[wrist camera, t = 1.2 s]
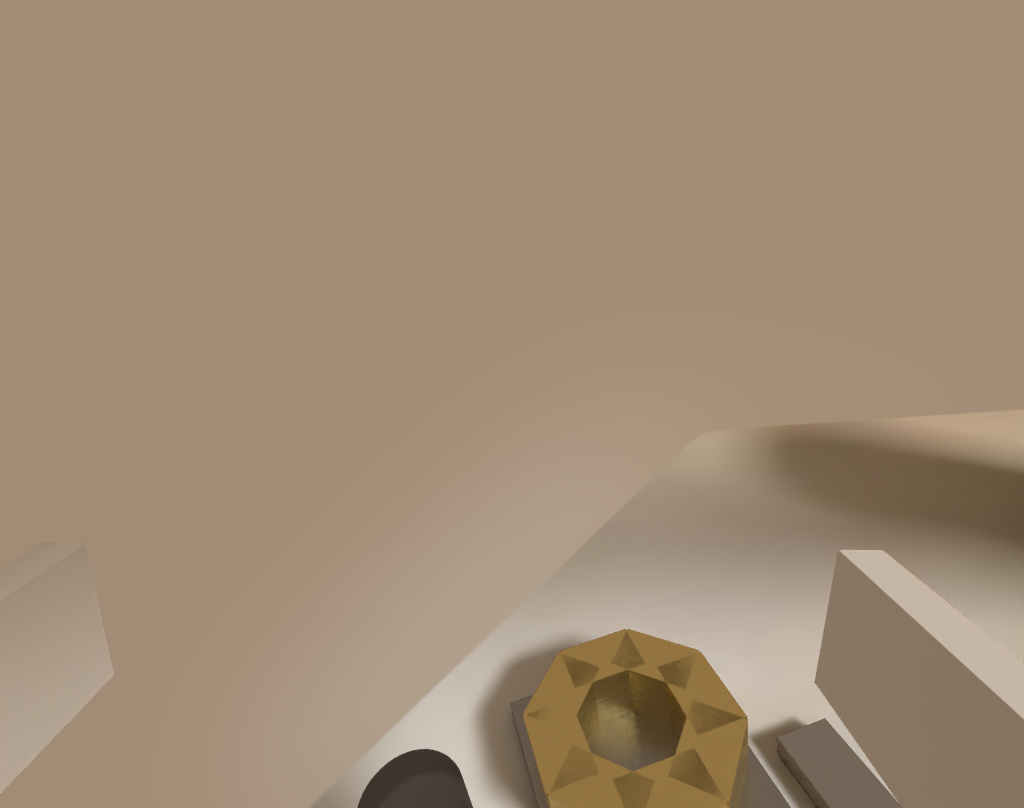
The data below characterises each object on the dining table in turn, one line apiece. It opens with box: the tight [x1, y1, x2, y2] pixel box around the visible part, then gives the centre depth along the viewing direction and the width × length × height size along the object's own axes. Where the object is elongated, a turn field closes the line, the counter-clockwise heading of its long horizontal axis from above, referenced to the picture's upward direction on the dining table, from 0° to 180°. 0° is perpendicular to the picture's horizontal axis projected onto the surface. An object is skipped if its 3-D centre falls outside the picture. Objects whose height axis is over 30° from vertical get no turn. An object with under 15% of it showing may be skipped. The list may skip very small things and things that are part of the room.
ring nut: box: [510, 629, 791, 808], centre depth 30 cm, size 12×12×4 cm
